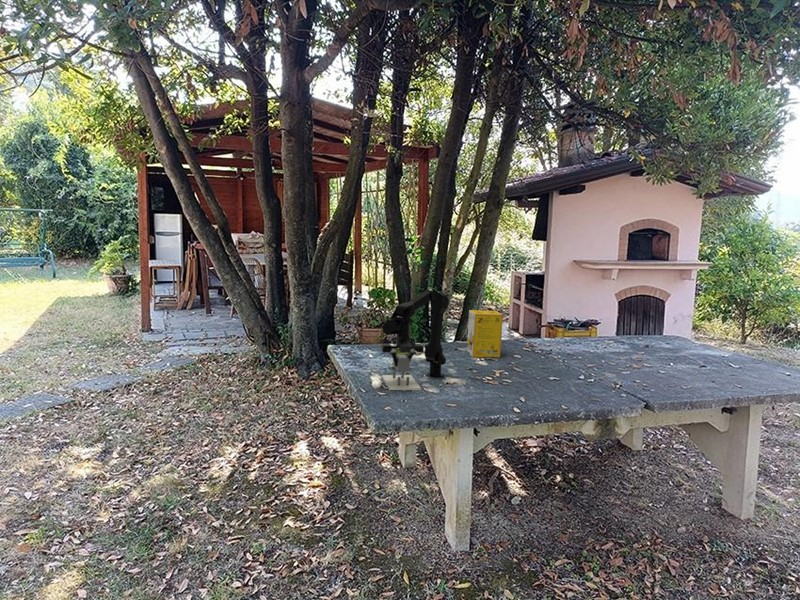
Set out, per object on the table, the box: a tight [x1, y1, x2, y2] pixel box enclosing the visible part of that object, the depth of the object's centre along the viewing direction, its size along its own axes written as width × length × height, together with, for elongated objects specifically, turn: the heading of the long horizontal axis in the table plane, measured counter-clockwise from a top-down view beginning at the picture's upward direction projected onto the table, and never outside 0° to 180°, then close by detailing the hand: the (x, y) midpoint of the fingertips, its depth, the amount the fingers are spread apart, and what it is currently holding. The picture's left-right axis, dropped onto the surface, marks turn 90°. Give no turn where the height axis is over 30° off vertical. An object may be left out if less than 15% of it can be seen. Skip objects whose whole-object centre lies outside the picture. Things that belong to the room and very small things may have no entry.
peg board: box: [381, 369, 422, 392], centre depth 241 cm, size 22×14×4 cm, turn 11°
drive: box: [393, 354, 410, 373], centre depth 241 cm, size 9×5×6 cm, turn 11°
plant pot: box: [392, 350, 408, 369], centre depth 269 cm, size 9×9×9 cm
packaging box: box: [466, 309, 504, 358], centre depth 310 cm, size 16×16×25 cm
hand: (401, 366), depth 241 cm, fingers closed on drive, 5 cm apart
